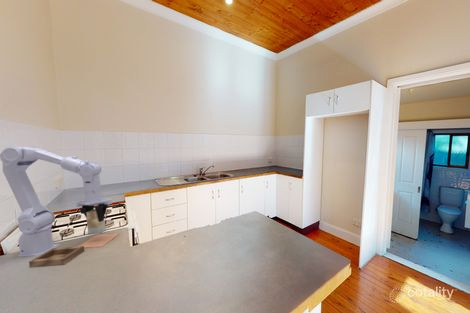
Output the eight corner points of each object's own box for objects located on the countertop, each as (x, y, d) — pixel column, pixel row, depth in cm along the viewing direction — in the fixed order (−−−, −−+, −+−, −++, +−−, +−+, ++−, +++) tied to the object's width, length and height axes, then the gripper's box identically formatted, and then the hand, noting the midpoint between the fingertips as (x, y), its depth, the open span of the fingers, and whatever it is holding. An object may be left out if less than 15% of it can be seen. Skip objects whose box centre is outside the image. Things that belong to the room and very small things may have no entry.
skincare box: (106, 230, 93) (103, 207, 92) (99, 234, 89) (96, 210, 88) (95, 230, 93) (92, 207, 93) (87, 234, 89) (85, 210, 89)
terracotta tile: (75, 250, 74) (75, 248, 74) (95, 236, 85) (95, 235, 85) (102, 248, 75) (101, 246, 74) (119, 235, 86) (118, 233, 85)
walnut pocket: (29, 268, 64) (28, 261, 64) (53, 254, 72) (52, 248, 72) (65, 265, 64) (64, 259, 64) (84, 252, 72) (83, 246, 72)
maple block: (88, 228, 77) (86, 212, 77) (95, 224, 81) (93, 209, 81) (97, 227, 77) (95, 211, 77) (104, 223, 81) (102, 208, 81)
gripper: (67, 194, 75) (71, 226, 76) (102, 191, 75) (106, 223, 76) (82, 190, 82) (85, 219, 83) (114, 188, 82) (117, 217, 83)
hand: (96, 221), depth 80 cm, fingers closed on maple block, 4 cm apart
